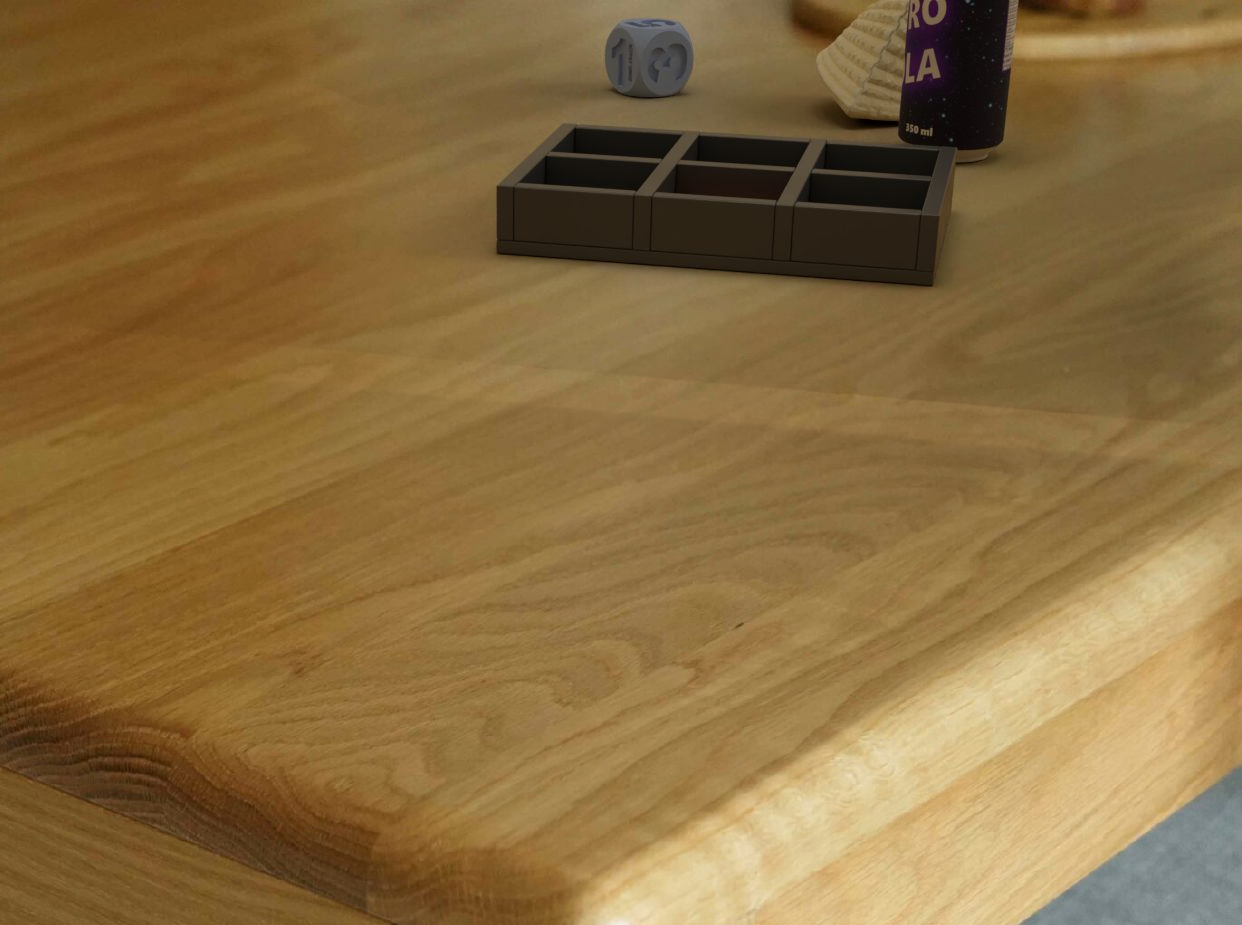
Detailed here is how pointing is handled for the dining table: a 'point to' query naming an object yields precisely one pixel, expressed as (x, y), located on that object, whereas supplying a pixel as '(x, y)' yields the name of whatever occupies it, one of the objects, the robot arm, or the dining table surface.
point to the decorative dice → (649, 57)
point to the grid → (731, 202)
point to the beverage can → (957, 74)
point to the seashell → (868, 62)
